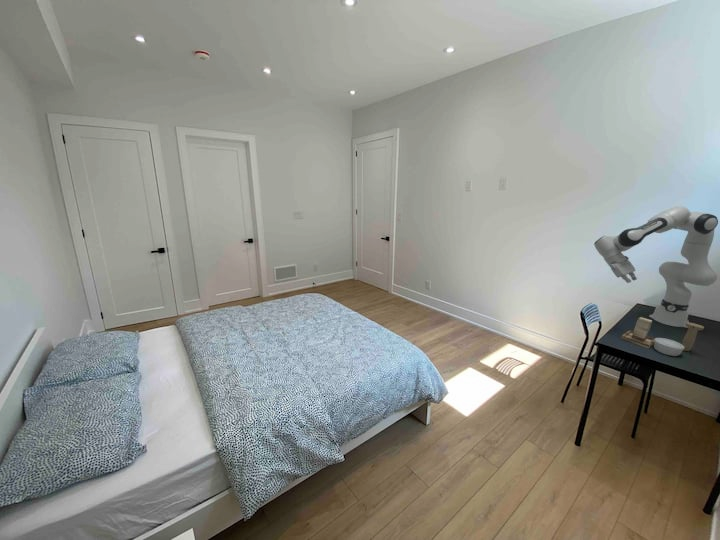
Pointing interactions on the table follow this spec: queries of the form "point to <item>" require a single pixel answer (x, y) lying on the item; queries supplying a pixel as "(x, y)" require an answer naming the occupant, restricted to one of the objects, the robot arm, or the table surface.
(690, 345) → the handle
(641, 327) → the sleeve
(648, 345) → the wooden tray
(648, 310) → the table surface
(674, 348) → the ramekin
